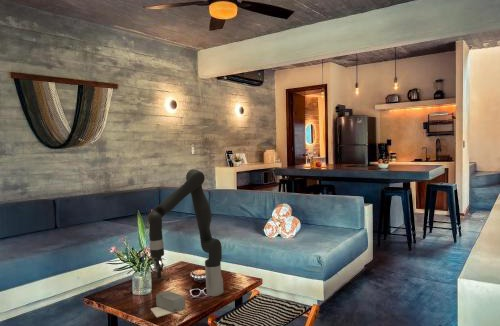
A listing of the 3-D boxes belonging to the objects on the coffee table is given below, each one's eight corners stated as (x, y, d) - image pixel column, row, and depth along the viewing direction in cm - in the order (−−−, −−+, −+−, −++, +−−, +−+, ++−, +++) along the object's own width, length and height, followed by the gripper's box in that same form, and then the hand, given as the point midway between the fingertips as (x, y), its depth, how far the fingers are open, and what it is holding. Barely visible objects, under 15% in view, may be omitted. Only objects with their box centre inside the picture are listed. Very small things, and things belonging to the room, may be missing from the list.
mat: (175, 302, 216) (175, 302, 216) (182, 310, 206) (182, 309, 206) (150, 309, 209) (150, 308, 209) (156, 317, 199) (156, 316, 199)
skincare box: (166, 290, 218) (185, 294, 208) (167, 302, 218) (186, 307, 208) (154, 294, 212) (173, 299, 202) (155, 307, 211) (174, 312, 202)
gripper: (167, 248, 207) (169, 280, 208) (160, 243, 219) (162, 273, 220) (153, 251, 203) (155, 283, 204) (146, 246, 215) (149, 276, 216)
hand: (159, 278), depth 212 cm, fingers closed
